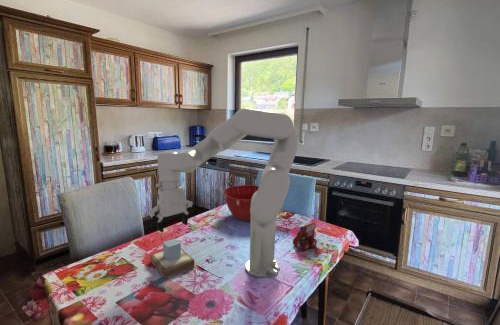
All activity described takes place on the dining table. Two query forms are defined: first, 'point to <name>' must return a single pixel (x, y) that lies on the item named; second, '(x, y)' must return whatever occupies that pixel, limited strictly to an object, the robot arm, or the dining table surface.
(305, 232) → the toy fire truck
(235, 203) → the mixing bowl
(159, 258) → the plinth
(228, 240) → the dining table surface
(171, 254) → the block
